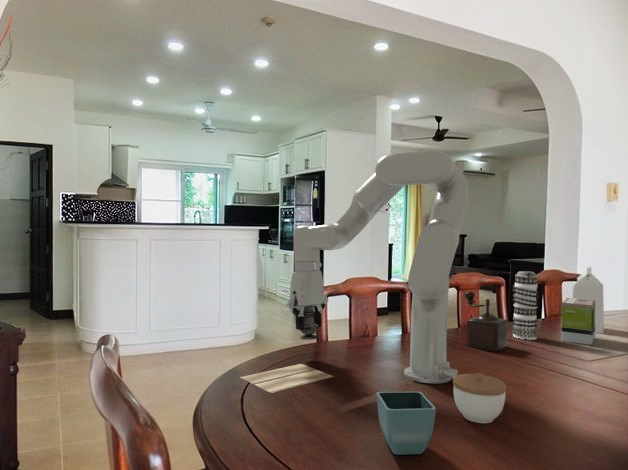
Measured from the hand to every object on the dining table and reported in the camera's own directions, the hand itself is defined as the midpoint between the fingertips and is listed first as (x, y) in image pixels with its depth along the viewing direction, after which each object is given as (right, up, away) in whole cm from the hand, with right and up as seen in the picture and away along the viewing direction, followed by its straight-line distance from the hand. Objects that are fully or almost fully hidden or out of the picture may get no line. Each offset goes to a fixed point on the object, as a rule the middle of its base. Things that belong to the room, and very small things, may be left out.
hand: (308, 327), depth 136 cm
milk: (+117, -12, +57) cm, 130 cm away
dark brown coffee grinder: (+60, -11, +26) cm, 66 cm away
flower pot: (+18, -12, -53) cm, 57 cm away
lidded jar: (+37, -12, -38) cm, 54 cm away
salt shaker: (0, -3, 0) cm, 3 cm away
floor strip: (-8, -10, -15) cm, 20 cm away
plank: (-3, -10, -20) cm, 23 cm away
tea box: (+102, -12, +37) cm, 109 cm away
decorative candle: (+82, -12, +39) cm, 91 cm away
